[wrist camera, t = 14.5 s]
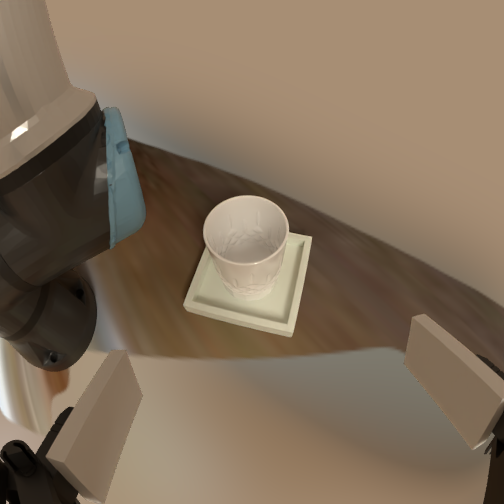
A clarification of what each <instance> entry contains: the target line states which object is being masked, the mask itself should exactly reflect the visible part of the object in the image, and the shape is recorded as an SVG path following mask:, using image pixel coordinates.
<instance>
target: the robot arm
mask: <svg viewBox="0 0 504 504" xmlns="http://www.w3.org/2000/svg"><path fill="white" fill-rule="evenodd" d="M145 217H146V207H145V203H144V198H143V194H142V190H141V186H140V182H139V179H138V175H137V171H136V168H135V164H134V160H133V157H132V153H131V151H130V149H129V143H128V139H127V135H126V130H125V127H124V123H123V120H122V116H121V113H120V111H119V109H118V108H117V107H111V108H109V107H106V108H104V109H103V111H101V110H100V107H99V104H98V102H97V99H96V96H95V94H94V93H92V92H89V91H86V90H83V89H80V88H76V87H73V86H72V85H71V83H70V81H69V78H68V75H67V72H66V70H65V67H64V64H63V61H62V58H61V55H60V52H59V49H58V45H57V42H56V39H55V36H54V32H53V29H52V26H51V22H50V18H49V14H48V10H47V6H46V2H45V0H0V337H2V338H4V339H6V340H7V341H8V342H9V343H10V344H11V345H12V346H13V347H14V348H15V349H16V350H17V351H18V352H19V353H20V354H21V355H22V356H23V357H24V358H25V359H26V360H27V361H28V362H29V363H31V364H32V365H34V366H36V367H38V368H41V369H44V370H47V371H61V370H64V369H67V368H69V367H70V366H72V365H73V364H74V363H76V362H77V361H78V360H79V359H80V357H81V356H82V355H83V354H84V352H85V351H86V349H87V347H88V346H89V344H90V341H91V339H92V336H93V333H94V329H95V324H96V303H95V298H94V295H93V292H92V290H91V288H90V286H89V285H88V284H87V282H86V281H85V280H84V279H83V278H82V277H80V276H79V275H78V274H77V273H76V272H75V271H73V270H71V269H72V268H74V267H76V266H78V265H79V264H81V263H83V262H85V261H87V260H88V259H90V258H92V257H94V256H96V255H98V254H100V253H102V252H103V251H105V250H107V249H112V248H113V247H115V245H116V243H118V242H120V241H121V240H123V239H125V238H127V237H128V236H130V235H132V234H134V233H135V232H137V231H138V230H139V229H140V228H141V227H142V225H143V223H144V221H145ZM404 365H405V366H406V367H407V368H408V369H409V371H410V372H411V373H412V374H413V375H414V377H415V378H416V379H417V380H418V382H419V383H420V384H421V385H422V387H423V388H424V389H425V390H426V391H427V393H428V394H429V395H430V396H431V397H432V399H433V400H434V401H435V403H436V404H437V405H438V406H439V408H440V409H441V410H442V412H443V413H444V414H445V415H446V417H447V418H448V419H449V420H450V422H451V423H452V424H453V425H454V427H455V428H456V430H457V431H458V432H459V433H460V435H461V436H462V437H463V439H464V440H465V441H466V443H467V444H468V445H469V447H470V448H471V449H472V450H474V449H475V448H477V447H478V446H480V445H482V444H483V443H485V442H486V440H487V439H488V437H489V436H490V434H491V432H493V434H494V435H495V437H494V438H493V440H492V441H491V443H490V444H489V446H488V447H487V448H486V450H485V453H484V454H487V452H488V451H489V449H490V448H491V447H492V449H491V452H490V454H491V460H490V468H489V475H488V482H487V487H486V492H485V498H484V502H483V504H504V373H503V372H502V371H500V369H499V368H498V367H496V366H494V364H493V363H492V362H491V361H489V360H488V359H487V358H485V357H482V356H480V355H478V354H477V355H474V354H473V353H472V352H471V351H470V350H468V349H467V348H466V347H465V346H464V345H462V344H461V343H460V342H459V341H458V340H456V339H455V338H454V337H453V336H452V335H450V334H449V333H448V332H447V331H445V330H444V329H443V328H442V327H440V326H439V325H438V324H437V323H435V322H434V321H433V320H432V319H430V318H429V317H428V316H427V315H425V314H422V315H418V316H414V317H412V321H411V328H410V334H409V339H408V345H407V350H406V355H405V360H404ZM142 397H143V395H142V392H141V390H140V387H139V384H138V382H137V379H136V376H135V374H134V371H133V368H132V366H131V363H130V360H129V357H128V354H127V351H126V350H111V352H110V353H109V355H108V356H107V358H106V359H105V361H104V362H103V364H102V365H101V367H100V368H99V370H98V371H97V373H96V374H95V376H94V378H93V379H92V380H91V382H90V383H89V385H88V387H87V388H86V390H85V391H84V393H83V394H82V396H81V398H80V399H79V401H78V402H77V404H76V406H75V407H68V408H67V409H65V410H64V411H63V412H62V413H61V414H60V415H59V417H58V418H57V420H56V421H55V424H53V426H52V428H51V429H50V430H51V431H49V432H48V434H47V436H46V437H45V439H44V441H43V442H42V444H41V446H40V447H39V449H38V451H37V453H36V454H34V452H33V451H32V450H31V449H30V448H29V446H28V445H27V444H26V443H25V442H24V441H21V440H13V441H10V442H8V443H7V444H6V445H4V446H3V448H2V450H1V452H0V453H1V454H0V457H1V459H2V460H3V461H4V462H5V463H4V462H2V461H1V459H0V504H6V500H7V501H8V502H9V504H80V502H79V501H78V500H77V498H76V497H77V495H78V493H80V494H81V495H82V496H83V497H84V498H85V499H86V500H88V501H91V502H95V503H98V504H104V503H105V500H106V496H107V494H108V491H109V488H110V484H111V481H112V479H113V475H114V473H115V469H116V467H117V464H118V461H119V458H120V455H121V452H122V450H123V447H124V444H125V441H126V438H127V436H128V433H129V431H130V428H131V425H132V423H133V420H134V417H135V415H136V412H137V409H138V407H139V404H140V402H141V399H142Z"/></svg>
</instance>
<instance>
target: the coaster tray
mask: <svg viewBox="0 0 504 504" xmlns="http://www.w3.org/2000/svg"><path fill="white" fill-rule="evenodd" d="M311 241H312V237H310V236H305V235H300V234H295V233H290V232H289V234H288V239H287V244H286V248H285V253H284V258H283V263H282V266H281V270H280V273H279V276H278V280H277V283H276V285H275V287H274V288H273V290H272V291H271V293H270V294H268V295H266V296H265V297H263V298H262V299H260V300H253V301H244V300H241V299H238V298H235V297H233V296H232V295H231V294H230V293H229V292H228V291H227V290H226V289H225V286H224V284H223V281H222V280H221V278H220V277H219V275H218V273H217V270H216V268H215V266H214V263H213V261H212V258H211V256H210V253H209V251H208V248H207V246H206V247H205V250H204V252H203V255H202V257H201V260H200V262H199V265H198V267H197V270H196V273H195V275H194V278H193V280H192V283H191V285H190V288H189V291H188V293H187V296H186V299H185V301H184V304H183V306H184V307H185V309H186V310H187V311H188V312H192V313H195V314H199V315H202V316H206V317H210V318H213V319H217V320H221V321H225V322H228V323H232V324H236V325H240V326H244V327H248V328H253V329H257V330H261V331H265V332H270V333H274V334H279V335H283V336H288V337H292V334H293V331H294V327H295V322H296V318H297V313H298V308H299V304H300V299H301V294H302V289H303V284H304V279H305V274H306V268H307V263H308V258H309V252H310V247H311Z"/></svg>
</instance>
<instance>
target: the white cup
mask: <svg viewBox="0 0 504 504" xmlns="http://www.w3.org/2000/svg"><path fill="white" fill-rule="evenodd" d="M288 234H289V224H288V220H287V218H286V216H285V214H284V212H283V211H282V210H281V209H280V208H279V207H278V206H277V205H276V204H275V203H273V202H271V201H269V200H267V199H265V198H262V197H258V196H250V195H245V196H237V197H233V198H230V199H227V200H225V201H223V202H221V203H220V204H218V205H217V206H216V207H215V208H214V209H213V210H212V211H211V212H210V213H209V215H208V216H207V218H206V220H205V223H204V227H203V237H204V241H205V243H206V246H207V248H208V251H209V253H210V256H211V258H212V261H213V263H214V266H215V268H216V270H217V273H218V275H219V277H220V278H221V280H222V281H223V284H224V286H225V289H226V290H227V291H228V292H229V293H230V294H231V295H232V296H233V297H235V298H238V299H241V300H244V301H253V300H260V299H262V298H263V297H265V296H266V295H268V294H270V293H271V291H272V290H273V288H274V287H275V285H276V283H277V280H278V276H279V273H280V270H281V266H282V263H283V258H284V253H285V248H286V244H287V239H288Z"/></svg>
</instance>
